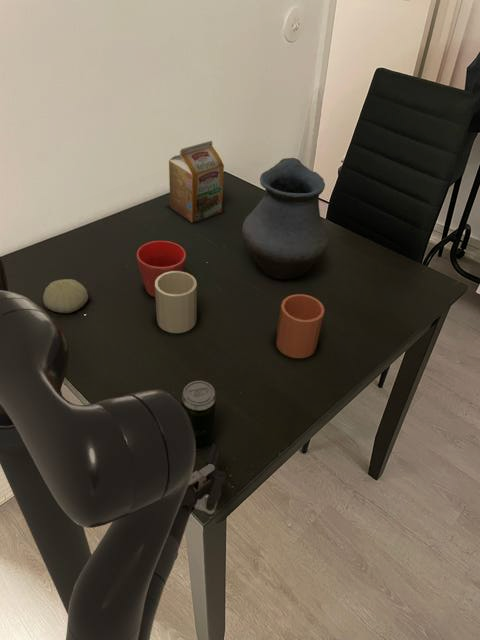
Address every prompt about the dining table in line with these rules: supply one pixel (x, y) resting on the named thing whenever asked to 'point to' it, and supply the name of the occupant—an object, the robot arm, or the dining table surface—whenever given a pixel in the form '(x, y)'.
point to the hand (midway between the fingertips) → (188, 440)
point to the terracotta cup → (299, 325)
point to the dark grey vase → (287, 221)
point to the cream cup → (176, 301)
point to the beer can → (201, 411)
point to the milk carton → (196, 182)
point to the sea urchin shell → (65, 296)
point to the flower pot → (159, 261)
